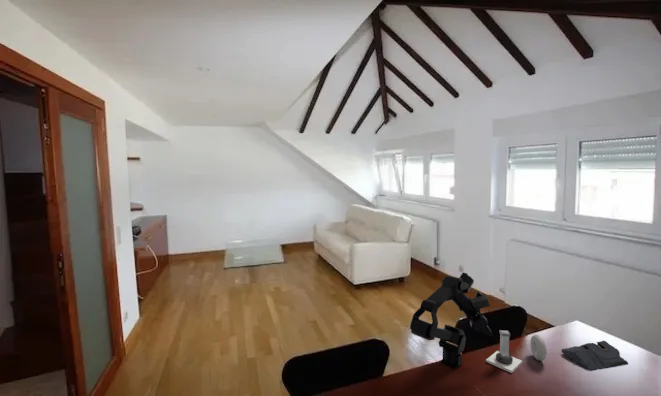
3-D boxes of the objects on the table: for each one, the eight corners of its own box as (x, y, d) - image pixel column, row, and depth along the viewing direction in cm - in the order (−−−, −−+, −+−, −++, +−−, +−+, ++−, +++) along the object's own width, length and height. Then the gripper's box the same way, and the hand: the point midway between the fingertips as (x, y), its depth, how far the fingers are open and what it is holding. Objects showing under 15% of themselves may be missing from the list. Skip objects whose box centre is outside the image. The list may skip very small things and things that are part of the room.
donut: (547, 366, 131) (548, 342, 130) (538, 365, 132) (539, 341, 131) (537, 352, 141) (538, 330, 140) (528, 351, 142) (529, 329, 141)
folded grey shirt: (554, 352, 142) (554, 341, 141) (594, 344, 147) (595, 334, 146) (589, 373, 127) (589, 361, 127) (633, 364, 132) (633, 353, 131)
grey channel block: (514, 365, 131) (515, 336, 130) (498, 363, 132) (499, 335, 131) (509, 356, 137) (510, 329, 136) (494, 355, 138) (494, 328, 137)
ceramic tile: (486, 361, 135) (486, 359, 135) (497, 352, 142) (497, 350, 141) (511, 373, 128) (511, 370, 127) (522, 363, 134) (522, 360, 134)
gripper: (483, 298, 125) (512, 329, 124) (472, 280, 143) (498, 307, 142) (460, 315, 127) (488, 346, 126) (452, 296, 145) (478, 322, 144)
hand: (489, 329), depth 135 cm, fingers open, 9 cm apart
